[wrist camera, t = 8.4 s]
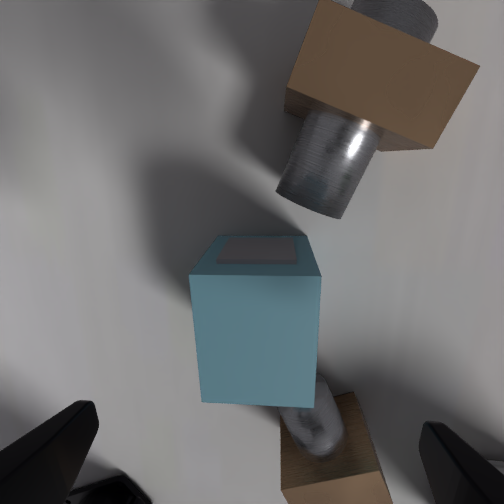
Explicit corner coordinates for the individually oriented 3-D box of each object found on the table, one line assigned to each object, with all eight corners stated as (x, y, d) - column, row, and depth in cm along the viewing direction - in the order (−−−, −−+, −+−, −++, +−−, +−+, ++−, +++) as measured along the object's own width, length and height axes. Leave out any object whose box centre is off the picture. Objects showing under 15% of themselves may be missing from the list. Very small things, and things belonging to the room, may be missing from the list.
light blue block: (302, 334, 17) (313, 411, 12) (224, 332, 18) (202, 405, 12) (306, 231, 15) (321, 271, 10) (218, 231, 16) (188, 269, 10)
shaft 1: (318, 20, 12) (342, -62, 8) (424, 66, 12) (509, 14, 8) (257, 178, 14) (248, 187, 10) (348, 215, 15) (379, 241, 10)
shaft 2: (371, 433, 19) (400, 520, 14) (300, 449, 20) (306, 535, 15) (337, 350, 17) (358, 419, 13) (260, 372, 18) (254, 444, 14)
